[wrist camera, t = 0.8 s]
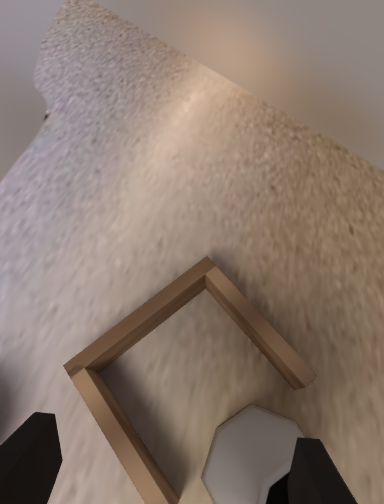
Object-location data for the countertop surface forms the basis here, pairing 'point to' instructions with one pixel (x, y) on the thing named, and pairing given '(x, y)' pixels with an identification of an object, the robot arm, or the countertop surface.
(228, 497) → the flask
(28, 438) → the robot arm
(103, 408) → the wooden frame
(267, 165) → the countertop surface
